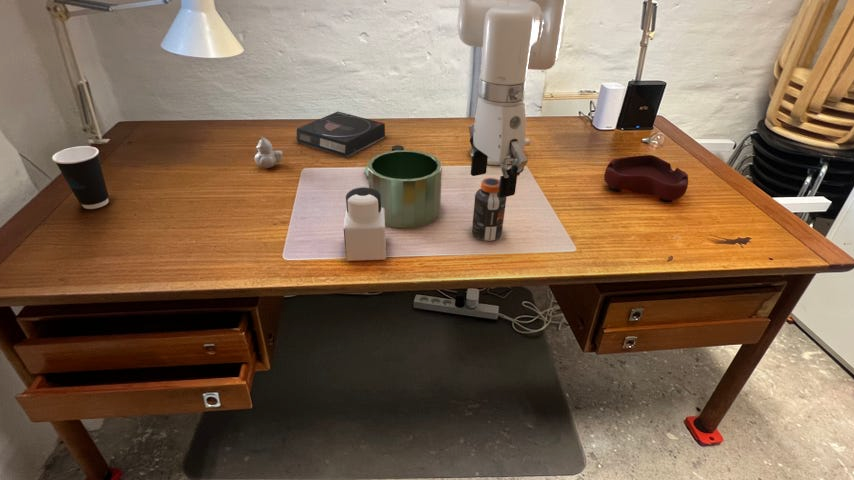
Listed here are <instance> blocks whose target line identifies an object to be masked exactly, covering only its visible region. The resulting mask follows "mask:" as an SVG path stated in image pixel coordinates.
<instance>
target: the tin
mask: <svg viewBox="0 0 854 480" xmlns="http://www.w3.org/2000/svg"><path fill="white" fill-rule="evenodd" d="M367 165H368V176H369V178H368V188H372V189H375V190H377V191H378V192H379V193H380V195H381V208H384V210H385V227H389V228H395V229H402V230H404V229H405V230H407V229H408V230H409V229H417V228H421V227H425V226H427V225H429V224H432V223H433V222H434V221H436V220H437V219H438V218H439V216H440V212H441V200H442V199H441V198H442V175H443V173H442V172H443V164H442V163H441V160H440V159H439V158H437V157H436V156H435V155H432V154H430V153H429V152H424V151H420V150H410V149H404V150H395V151H392V150H390V151H385V152H382V153H379V154H376V155H375V156H373V157H372V158H370V159H369V161H368V163H367Z"/></svg>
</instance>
